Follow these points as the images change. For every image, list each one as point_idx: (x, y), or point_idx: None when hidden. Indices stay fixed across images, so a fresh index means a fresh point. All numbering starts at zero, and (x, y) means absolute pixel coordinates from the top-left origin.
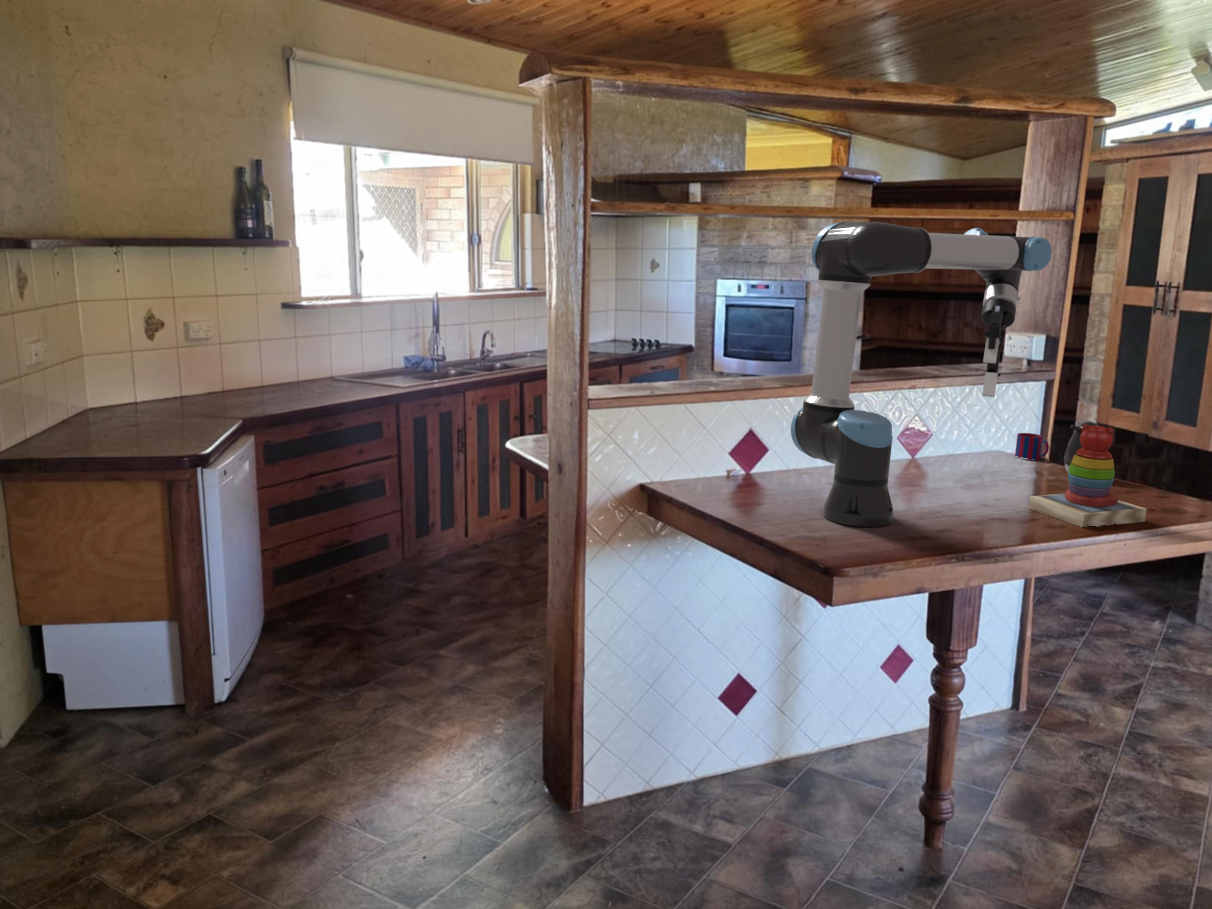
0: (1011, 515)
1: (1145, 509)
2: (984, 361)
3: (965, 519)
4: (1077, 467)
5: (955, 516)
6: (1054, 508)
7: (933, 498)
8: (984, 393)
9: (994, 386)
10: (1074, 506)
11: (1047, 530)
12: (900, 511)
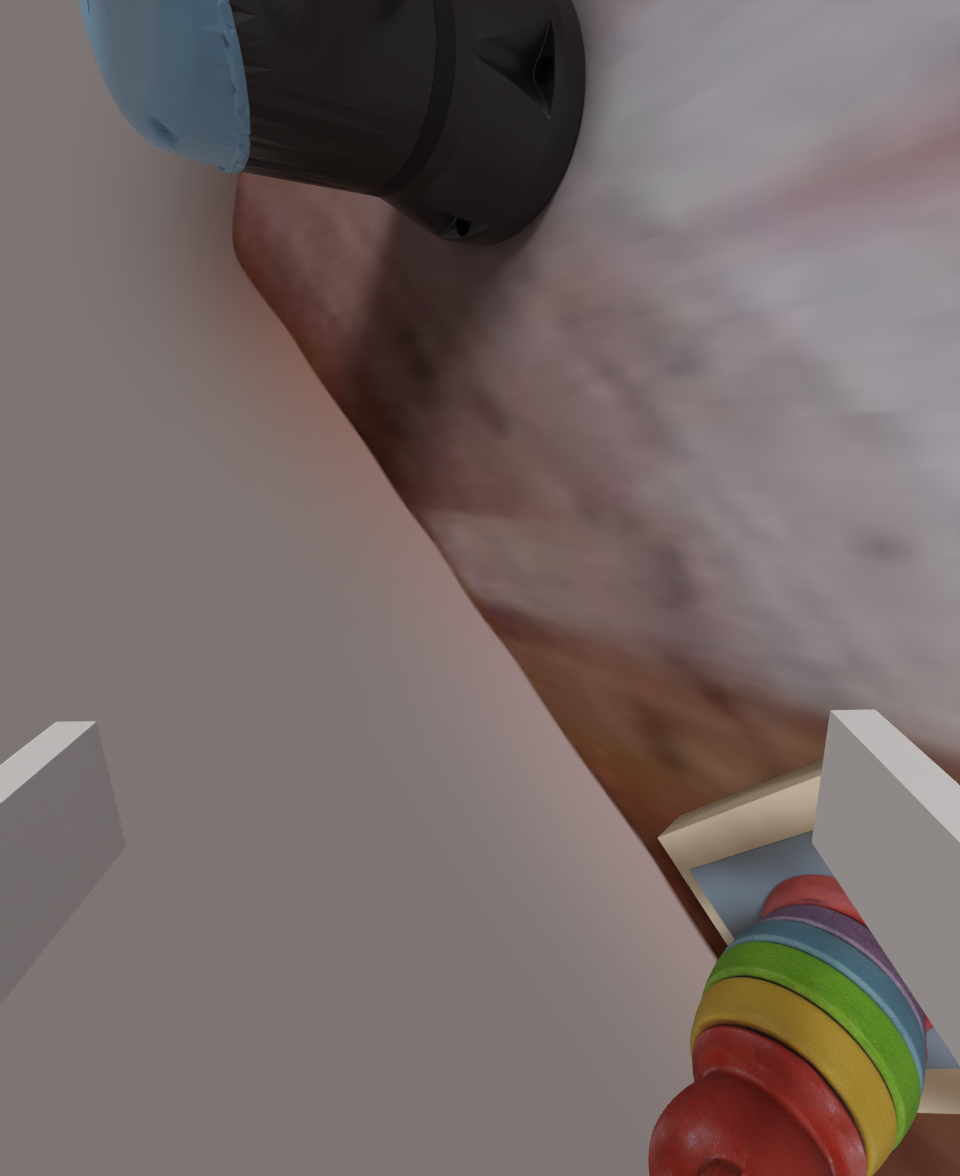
0: (745, 633)
1: None
2: (76, 736)
3: (623, 467)
4: (730, 970)
5: (646, 431)
6: (761, 793)
7: (941, 293)
8: (833, 743)
9: (892, 944)
10: (745, 857)
11: (611, 701)
12: (626, 220)
